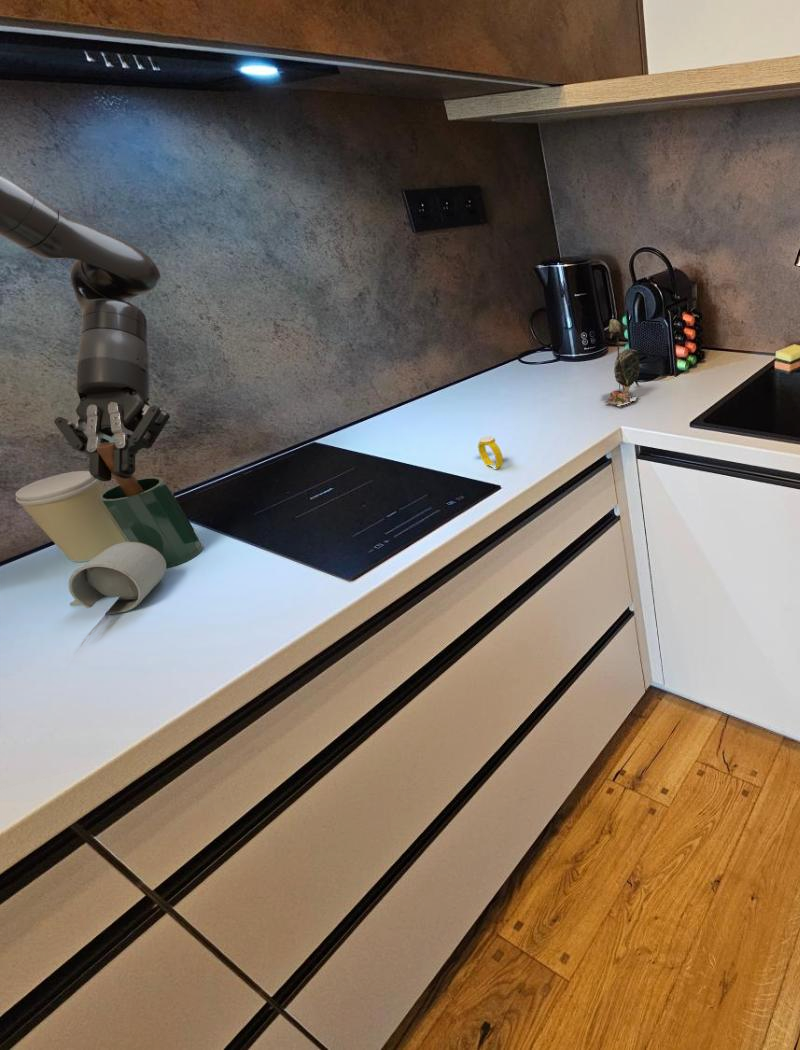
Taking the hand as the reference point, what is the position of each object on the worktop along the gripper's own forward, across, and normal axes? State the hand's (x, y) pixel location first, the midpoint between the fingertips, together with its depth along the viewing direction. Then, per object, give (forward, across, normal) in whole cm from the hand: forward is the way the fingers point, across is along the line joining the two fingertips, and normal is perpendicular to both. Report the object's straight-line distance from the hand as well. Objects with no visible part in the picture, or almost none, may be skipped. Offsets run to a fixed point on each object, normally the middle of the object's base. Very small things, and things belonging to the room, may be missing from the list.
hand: (112, 477), depth 82 cm
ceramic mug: (+17, -1, +4) cm, 17 cm away
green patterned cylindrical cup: (+9, 0, +12) cm, 15 cm away
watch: (-2, +48, +24) cm, 53 cm away
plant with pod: (-22, +77, +44) cm, 92 cm away
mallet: (+8, 0, +11) cm, 14 cm away
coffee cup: (+4, -14, +17) cm, 22 cm away
